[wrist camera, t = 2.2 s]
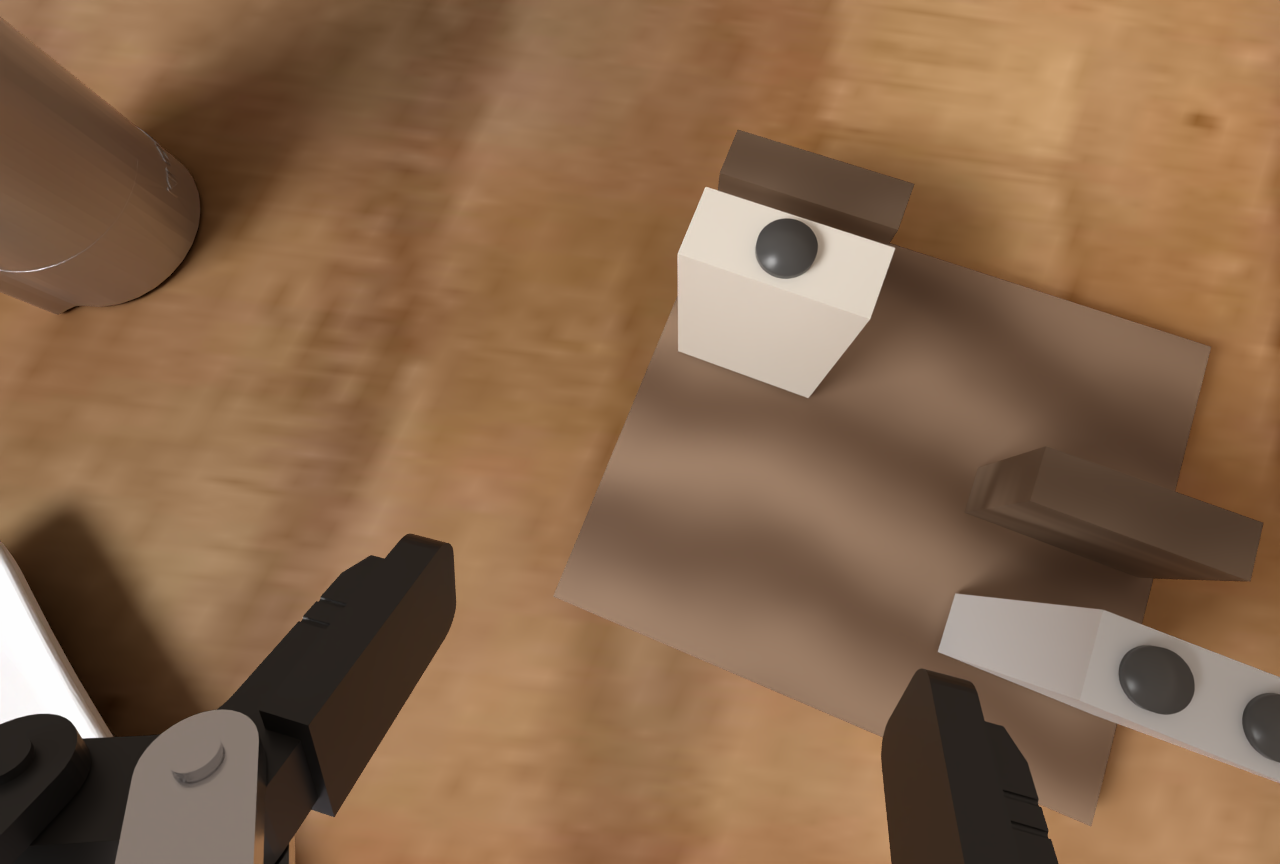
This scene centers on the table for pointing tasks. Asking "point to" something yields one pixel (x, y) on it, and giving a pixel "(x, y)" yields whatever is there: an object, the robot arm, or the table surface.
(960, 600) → the tile two
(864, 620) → the brown piece
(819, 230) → the tile one
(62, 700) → the salad plate
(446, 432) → the table surface
